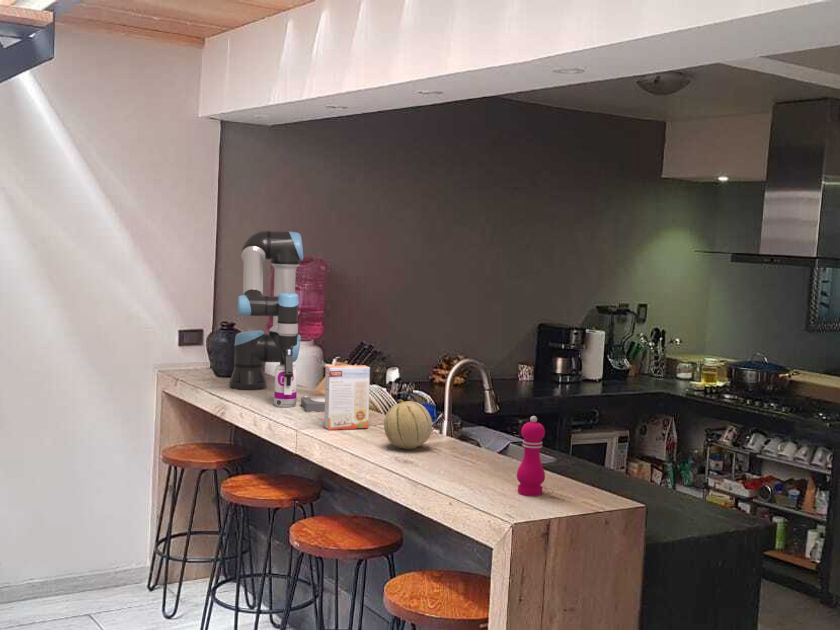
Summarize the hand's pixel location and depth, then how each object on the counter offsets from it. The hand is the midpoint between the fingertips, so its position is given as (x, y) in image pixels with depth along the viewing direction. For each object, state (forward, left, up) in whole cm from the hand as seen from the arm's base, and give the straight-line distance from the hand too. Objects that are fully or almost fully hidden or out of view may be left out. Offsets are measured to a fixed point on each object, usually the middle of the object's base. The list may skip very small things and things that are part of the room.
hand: (285, 391), depth 360 cm
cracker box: (+43, +15, -6) cm, 46 cm away
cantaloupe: (+75, +28, -6) cm, 80 cm away
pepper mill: (+129, +47, -6) cm, 137 cm away
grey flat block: (+6, +14, -5) cm, 16 cm away
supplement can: (0, 0, -6) cm, 6 cm away
